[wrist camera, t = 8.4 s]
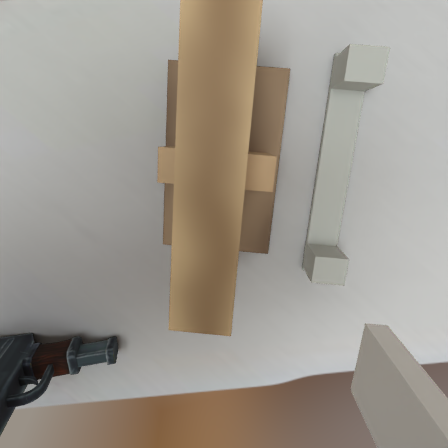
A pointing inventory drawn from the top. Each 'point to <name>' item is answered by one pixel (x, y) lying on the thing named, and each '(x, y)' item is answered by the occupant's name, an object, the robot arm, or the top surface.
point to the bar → (211, 159)
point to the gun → (43, 366)
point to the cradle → (339, 158)
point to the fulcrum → (257, 156)
